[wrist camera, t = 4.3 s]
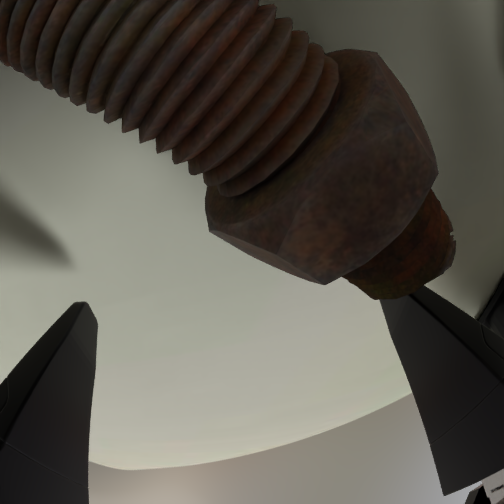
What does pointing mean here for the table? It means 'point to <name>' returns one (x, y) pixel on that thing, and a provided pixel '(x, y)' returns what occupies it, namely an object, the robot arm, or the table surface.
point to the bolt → (256, 128)
